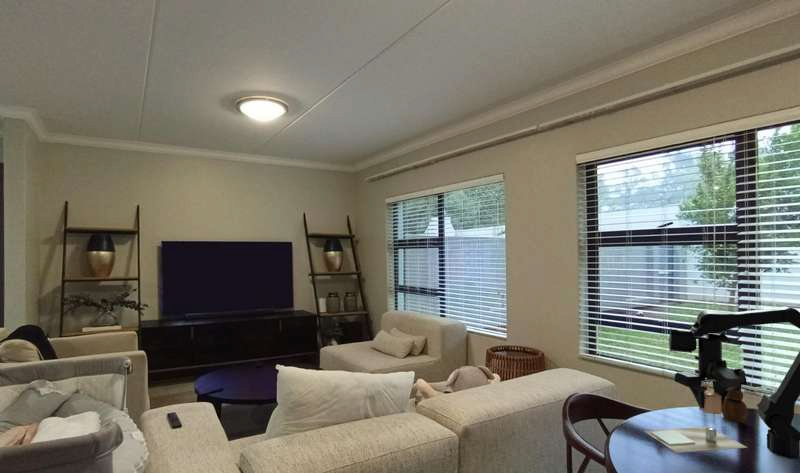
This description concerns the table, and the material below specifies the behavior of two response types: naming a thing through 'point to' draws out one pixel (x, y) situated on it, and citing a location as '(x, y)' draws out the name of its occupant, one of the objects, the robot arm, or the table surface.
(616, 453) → the table surface
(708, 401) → the cap
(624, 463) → the table surface
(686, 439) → the pad
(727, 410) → the wooden figurine
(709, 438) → the silver metal cylinder
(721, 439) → the board
